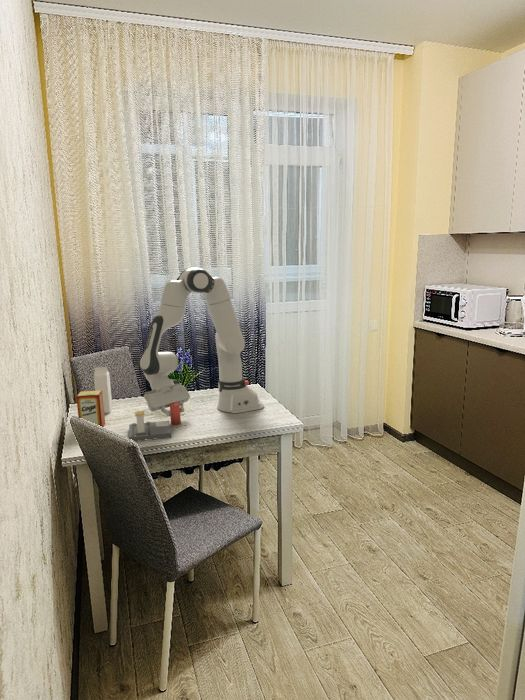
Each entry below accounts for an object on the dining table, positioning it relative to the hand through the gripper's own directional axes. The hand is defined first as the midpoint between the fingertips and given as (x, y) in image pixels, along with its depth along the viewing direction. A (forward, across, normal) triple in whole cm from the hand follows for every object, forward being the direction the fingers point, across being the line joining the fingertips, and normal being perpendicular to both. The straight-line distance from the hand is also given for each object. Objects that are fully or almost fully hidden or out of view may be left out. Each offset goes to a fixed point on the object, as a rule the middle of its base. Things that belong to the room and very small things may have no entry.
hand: (176, 413), depth 220 cm
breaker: (+4, -20, -1) cm, 20 cm away
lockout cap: (+3, 0, +4) cm, 5 cm away
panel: (+4, -14, +3) cm, 15 cm away
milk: (-24, -15, +31) cm, 42 cm away
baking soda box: (-13, -28, +20) cm, 37 cm away
